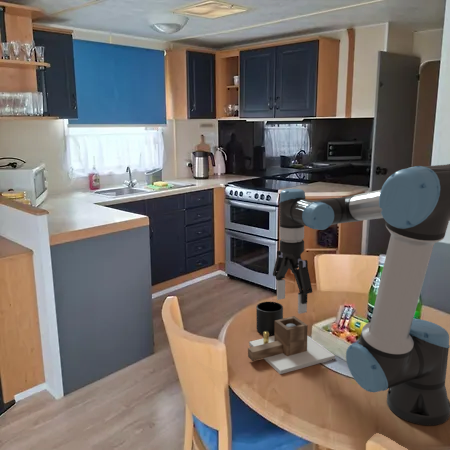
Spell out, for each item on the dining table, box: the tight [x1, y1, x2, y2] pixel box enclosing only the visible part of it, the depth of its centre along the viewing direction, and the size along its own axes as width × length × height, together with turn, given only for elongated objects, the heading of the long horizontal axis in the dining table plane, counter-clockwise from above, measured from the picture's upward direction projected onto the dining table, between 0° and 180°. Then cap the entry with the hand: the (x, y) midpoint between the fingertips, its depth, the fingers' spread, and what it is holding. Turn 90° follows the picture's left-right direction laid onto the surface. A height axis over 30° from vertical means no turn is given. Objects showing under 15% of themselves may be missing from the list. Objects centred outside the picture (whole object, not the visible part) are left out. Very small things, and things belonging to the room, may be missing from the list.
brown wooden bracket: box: [247, 315, 309, 362], centre depth 142 cm, size 19×8×9 cm, turn 115°
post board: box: [248, 323, 336, 375], centre depth 144 cm, size 20×20×9 cm
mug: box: [255, 301, 284, 336], centre depth 161 cm, size 9×12×9 cm
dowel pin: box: [262, 331, 270, 344], centre depth 148 cm, size 2×2×4 cm
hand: (291, 305), depth 141 cm, fingers open, 12 cm apart
